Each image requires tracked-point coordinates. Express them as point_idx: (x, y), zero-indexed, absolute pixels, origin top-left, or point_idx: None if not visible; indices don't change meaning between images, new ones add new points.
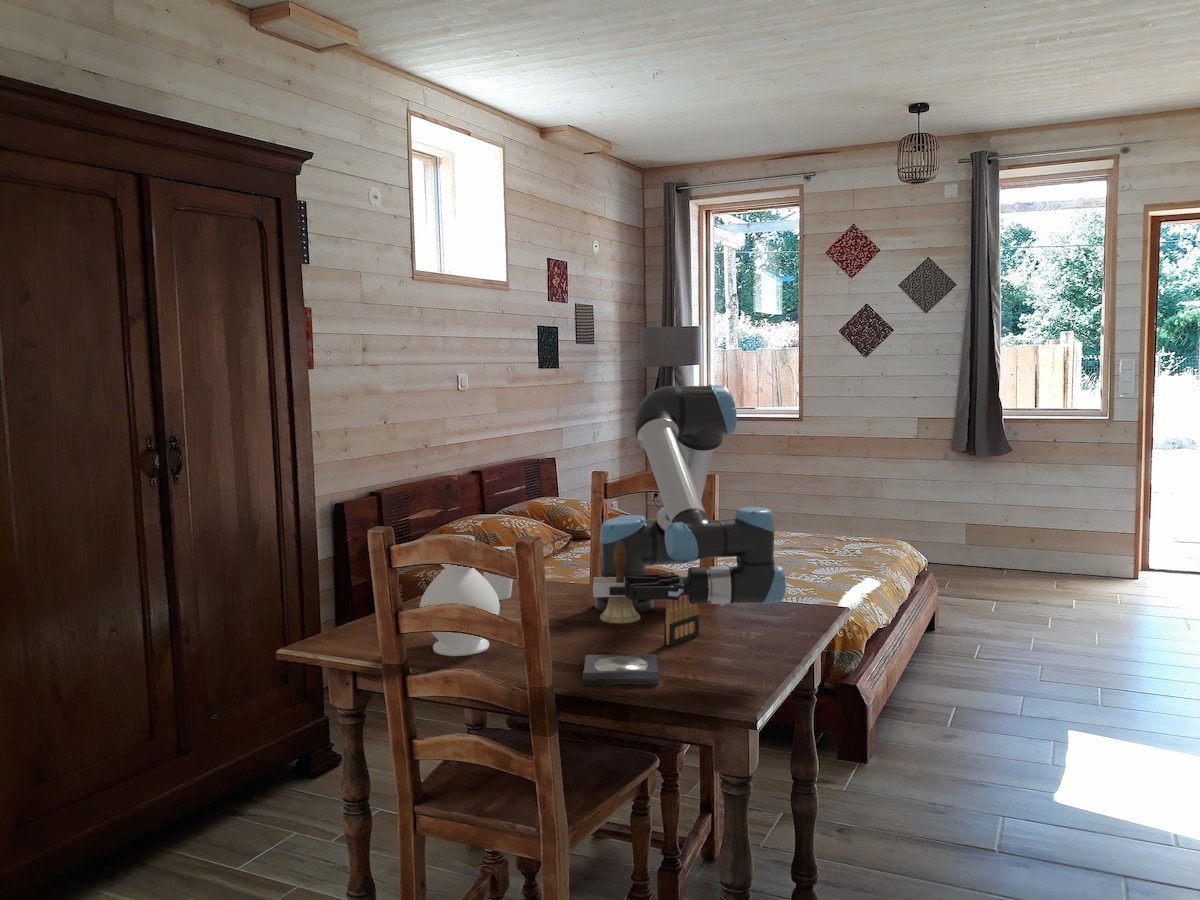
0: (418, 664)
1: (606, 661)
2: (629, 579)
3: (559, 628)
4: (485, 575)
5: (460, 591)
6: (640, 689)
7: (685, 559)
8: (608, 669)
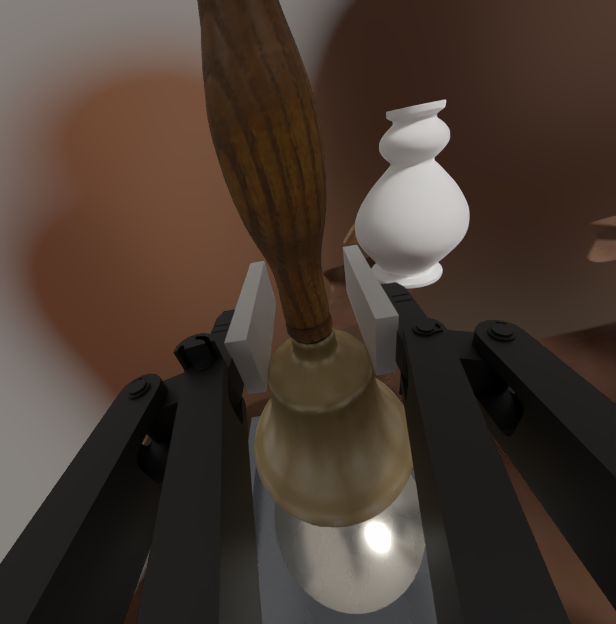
0: (339, 266)
1: None
2: (405, 348)
3: (585, 330)
4: None
5: (371, 199)
6: None
7: None
8: None
